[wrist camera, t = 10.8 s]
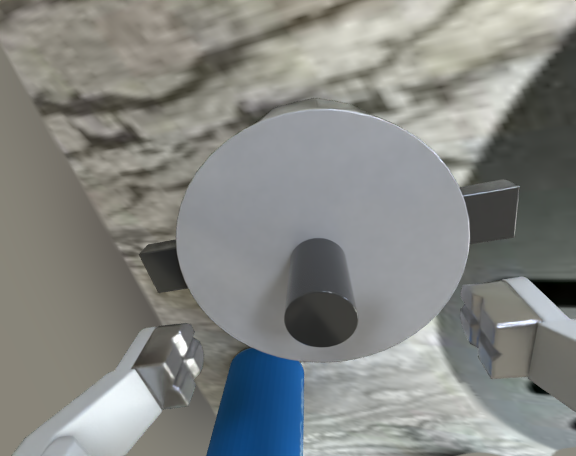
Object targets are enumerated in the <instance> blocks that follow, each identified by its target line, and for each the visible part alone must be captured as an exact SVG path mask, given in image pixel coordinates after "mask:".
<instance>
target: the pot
mask: <svg viewBox="0 0 576 456" xmlns="http://www.w3.org/2000/svg"><path fill="white" fill-rule="evenodd" d="M308 108H337V109H346V110H354V111H358V112H362V113H366V114H368V113H367V112H365V111H364V110H362V109H361V108H359V107H358V106H355V105H352V104H347V103H342V102H338V101H333V100H326V99H321V98H311V99H306V100H302V101H296V102H293V103H289V104H286V105H282V106H277V107H275V108H273V109H272V110H270V111H269V112H268V113H266V114H265V115H264V116H262V117H261V118H260V119H259V120H257V121H256V122H255V123H257V122H259V121H261V120H263V119H266V118H269V117H272V116H275V115H278V114H282V113H285V112H290V111H296V110H302V109H308ZM255 123H253V124H255ZM253 124H252V125H253ZM459 188H460V190H461V193H462V195H463V198H464V200H465V203H466V208H467V212H468V217H469V228H470V242H469V244H475V243H481V242H488V241H494V240H500V239H507V238H513V237H515V228H516V218H517V208H518V198H519V188H520V187H519V186H518V185H516V184H515V183H513V182H511V181H509V180H507V179H503V180H497V181H492V182H486V183H481V184H476V185H470V186H465V187H459ZM139 256H140V258H141V260H142V262H143V264H144V266H145V268H146V270H147V272H148V274H149V276H150V278H151V280H152V282H153V284H154V286H155V287H156V289H157V291H158V293H161V292H168V291H174V290H180V289H187V288H188V287H187V285H186V283H185V280H184V277H183V275H182V272H181V269H180V265H179V260H178V256H177V247H176V240H171V241H165V242H160V243H154V244H149V245H147V246H146V247H145V248H144V249H143V250H142V252H141V253H140V254H139Z"/></svg>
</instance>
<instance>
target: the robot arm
mask: <svg viewBox="0 0 576 456" xmlns="http://www.w3.org/2000/svg"><path fill="white" fill-rule="evenodd" d="M461 299H462V300H463V302H464V303H465V304H464V305H463V307H462V308H461V309H460V319H461V324H462V328H463V331H464V333H465V335H466V337H467V339H468V341H469V343H470V344H472V345H474V346H475V347H477V348H478V358H479V360H480V361H481V363H482V365H483V366H484V368H485V370H486V371H487V373H488V375H489V376H490V378H491V379H500V378H515V377H528V379H530V380H531V381H532V382H534V383H535V384H537V385H538V386H539V387H541V388H542V389H544V390H545V391H546V392H548V393H549V394H551V395H552V396H554V397H555V398H556V399H558V400H559V401H561V402H562V403H563V404H565V405H566V406H568V407H569V408H570V409H572V410H573V411H575V412H576V319H569V318H568V317H567V316H566V315H565V314H564V313H563V312H562V311H561V310H560V309H559V308H558V307H557V306H556V305H555V304H554V303H552V302H551V301H550V300H549V299H548V298H547V297H546V296H545V295H544V294H543V293H542V292H541V291H540V290H539V289H538V288H537V287H536V286H535V285H534V284H532V283H531V282H530V281H529V280H528V279H527V278H525V277H516V278H510V279H503V280H498V281H491V282H484V283H477V284H470V285H463V286H462V288H461ZM194 333H195V331H194V329H193V327H192V326H191V324H188V323H183V324H174V325H165V326H158V327H150V328H144V329H142V330H141V331H140V332H139V334H138V335H137V337H136V338H135V340H134V341H133V343H132V344H131V346H130V348H129V349H128V350H127V352H126V354H125V355H124V357H123V358H122V360H121V361H120V363H119V364H118V366H117V368H116V369H115V371H113V372H109V373H107V374H106V375H105V376H104V377H102V378H101V379H100V380H99V381H97V382H96V383H95V384H93V385H92V386H91V387H90V388H88V389H87V390H86V391H84V392H83V393H82V394H81V395H79V396H78V397H77V398H76V399H74V400H73V401H72V402H70V403H69V404H68V405H67V406H65V407H64V408H63V409H61V410H60V411H59V412H57V413H56V414H55V415H54V416H52V417H51V418H50V419H49V420H47V421H46V422H45V423H44V424H42V425H41V426H40V427H38V428H37V429H36V430H34V431H33V432H32V433H31V434H30V435H28V436H27V437H25V438H24V440H23V441H22V442H21V444H20V445H19V446H18V448H17V449H16V450H15V451H14V453H13V454H12V455H11V456H125V455H126V454H127V453H128V452H129V450H130V449H131V448H132V447H133V446H134V444H135V443H136V442H137V441H138V440H139V439H140V437H141V436H142V435H143V434H144V433H145V431H146V430H147V429H148V428H149V427H150V425H151V424H152V423H153V422H154V421H155V420H156V418H157V417H158V416H159V415H160V414H161V412H162V410H164V409H171V408H180V407H187V406H189V404H190V401H191V398H192V396H193V393H194V390H195V387H196V384H195V382H194V379H195V378H196V377H197V376H198V375H199V374H200V373H201V370H202V367H203V362H204V352H203V347H202V345H201V343H200V342H199V341H198V340H196V339H195V338H193V335H194Z"/></svg>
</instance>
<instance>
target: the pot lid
mask: <svg viewBox="0 0 576 456" xmlns="http://www.w3.org/2000/svg"><path fill="white" fill-rule="evenodd" d="M469 242H470V228H469V217H468V212H467V208H466V203H465V200H464V198H463V195H462V193H461V190H460V188H459V185H458V183H457V182H456V180H455V178H454V177H453V175H452V173H451V172H450V170H449V168H448V167H447V166H446V165H445V163H444V162H443V161H442V160H441V159H440V158H439V156H438V155H437V154H436V153H435V152H434V151H433V150H432V149H431V148H429V147H428V146H427V145H426V144H425V143H424V142H422V141H421V140H420V139H419V138H417V137H416V136H414V135H413V134H411V133H409V132H408V131H406V130H404V129H403V128H401V127H400V126H398V125H396V124H393V123H391V122H389V121H386V120H384V119H382V118H379V117H377V116H374V115H370V114H366V113H362V112H358V111H354V110H346V109H337V108H308V109H302V110H296V111H290V112H285V113H282V114H278V115H275V116H272V117H269V118H266V119H263V120H261V121H259V122H257V123H255V124H253V125H251V126H249V127H246V128H245V129H243V130H242V131H240V132H239V133H237V134H236V135H234V136H233V137H231V138H230V139H228V140H227V141H225V142H224V143H223V144H222V145H221V146H220V147H219V148H218V149H217V150H215V151H214V152H213V153H212V154H211V155H210V156H209V157H208V158H207V160H206V161H205V162H204V163H203V164H202V166H201V167H200V168H199V169H198V171H197V172H196V174H195V175H194V177H193V179H192V180H191V182H190V184H189V186H188V187H187V190H186V192H185V195H184V197H183V200H182V202H181V206H180V210H179V214H178V218H177V227H176V247H177V256H178V260H179V265H180V269H181V272H182V275H183V277H184V280H185V283H186V285H187V287H188V288H189V290H190V292H191V294H192V296H193V297H194V299H195V300H196V302H197V303H198V305H199V306H200V307H201V309H202V310H203V311H204V312H205V313H206V314H207V315H208V317H209V318H210V319H211V320H212V321H213V322H214V323H216V324H217V325H218V326H219V327H220V328H221V329H222V330H224V331H225V332H227V333H228V334H229V335H231V336H232V337H234V338H235V339H237V340H239V341H240V342H242V343H244V344H246V345H248V346H250V347H252V348H254V349H257V350H259V351H261V352H264V353H267V354H270V355H273V356H276V357H280V358H285V359H289V360H295V361H303V362H321V363H326V362H340V361H347V360H353V359H358V358H362V357H366V356H370V355H373V354H376V353H378V352H381V351H384V350H386V349H389V348H391V347H393V346H395V345H397V344H399V343H401V342H403V341H404V340H406V339H407V338H409V337H411V336H412V335H414V334H415V333H417V332H418V331H419V330H420V329H422V328H423V327H424V326H426V325H427V324H428V323H429V322H430V321H431V320H432V319H433V318H434V317H435V316H436V315H437V314H438V313H439V312H440V311H441V309H442V308H443V307H444V306H445V304H446V303H447V302H448V301H449V299H450V297H451V296H452V294H453V292H454V291H455V289H456V288H457V286H458V283H459V281H460V279H461V276H462V274H463V272H464V268H465V265H466V261H467V257H468V251H469Z"/></svg>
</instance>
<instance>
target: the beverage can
mask: <svg viewBox="0 0 576 456" xmlns="http://www.w3.org/2000/svg"><path fill="white" fill-rule="evenodd" d="M303 420H304V370H303V367H302V365H301V363H300V362H299V361H295V360H289V359H285V358H280V357H276V356H273V355H270V354H267V353H264V352H261V351H259V350H257V349H254V348H248V349H245V350H243V351H241V352H240V353H239V354H237V355H236V356H235V357H234V359H233V360H232V362H231V365H230V369H229V373H228V376H227V380H226V384H225V388H224V391H223V395H222V399H221V403H220V406H219V410H218V414H217V418H216V421H215V425H214V429H213V433H212V436H211V440H210V444H209V448H208V451H207V455H206V456H303Z"/></svg>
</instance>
